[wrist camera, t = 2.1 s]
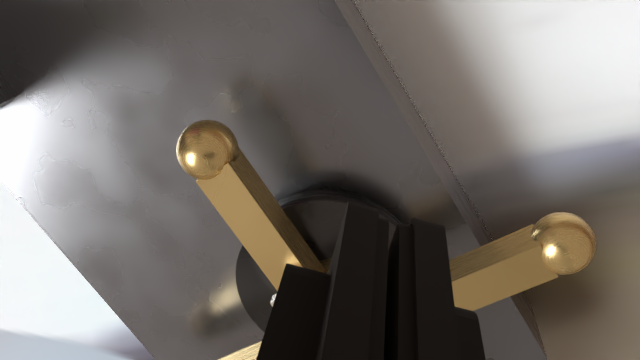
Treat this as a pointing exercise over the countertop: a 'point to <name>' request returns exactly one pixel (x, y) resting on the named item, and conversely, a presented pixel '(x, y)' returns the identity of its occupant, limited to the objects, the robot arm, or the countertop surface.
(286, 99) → the stand
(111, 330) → the countertop surface
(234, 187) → the capstan
